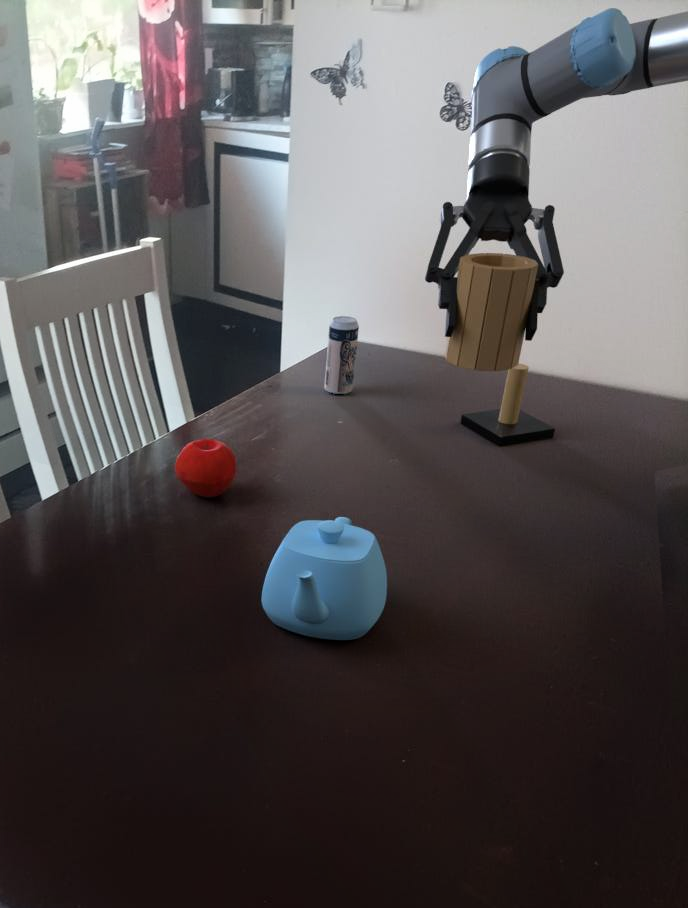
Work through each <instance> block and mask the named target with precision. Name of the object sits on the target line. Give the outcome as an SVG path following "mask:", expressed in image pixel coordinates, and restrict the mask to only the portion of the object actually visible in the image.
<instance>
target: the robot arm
mask: <svg viewBox="0 0 688 908" xmlns="http://www.w3.org/2000/svg"><path fill="white" fill-rule="evenodd" d="M683 82H684V83H685V82H688V10H687V11H682V12H678V13H674V14H669V15H666V16H665V15H664V16H660V17H657V18H651V19H645V20H641V21H636V22H632V23H630V21H629V20H628V18H627V16H626V15H625V14H623V12H622V11H621V10H620V9H618V8H616V7H611V8H607V9H605V10H603V11H600V12H599V13H597V14H595V15H593V16H591V17H590V16H589V17H587V18H584V19H582V20H581V22H580V23H579V24H577V25H575V26H574V27H571V28H570V29H569V30H567V31H565V32H563V33H561V34H560V35H558V36H556V37H555V38H553V39H551V40H550V41H548V42H546V43H544V44H543V45H541V46H539V47H538V48H536V49H534V50H533V51H531V52H529V51H527V49H525V48H522V47H520V46H513V45H511V46H508V47H506V48H500V47H499V48H496V49H494V50H492V51H491V52H489V53H487V54H486V55H485V57H483V58H482V59H481V61H480V63H478V66H477V67H476V70H475V74H474V80H473V88H472V91H471V96H470V104H471V121H470V123H471V124H470V125H471V127H470V141H469V155H468V167H467V170H468V173H467V184H466V199H465V200H466V201H465V202H463V205H453V203H452V202H450V201H445V202H444V203H443V204H442V208H441V212H440V216H439V217H440V218H439V224H440V227H439V228H440V229H439V231H438V232H439V233H437V234H438V235H437V238H436V240H435V244H434V247H433V250H432V253H431V255H430V259H429V262H428V266H427V269H426V273H425V277H424V280H425V282H426V283H429V284H431V283H435V284H437V286H438V287H437V288H438V300H437V303H438V304H437V306H438V308H439V310H446V314H445V315H446V316H445V329H444V330H445V331H444V332H445V333H444V337H445V338H448V337H451V336H452V333H453V330H454V327H455V316H456V299H457V279H458V277H457V276H456V275H457V274H458V268H459V262H460V257H463V256H465V255H468V254H471V251H472V249H474V248H475V247H476V245H477V243H478V241H479V240H480V242H490V241H497V242H501V243H503V242H505V243H506V242H507V245H508V246H509V248H510V250H513V252H514V255H517V256H521V257H522V256H524V257H527V258H530V259H533V260H535V261H536V262H537V263H538V269H537V274H536V279H535V284H534V289H533V294H532V298H531V303H530V308H529V313H528V318H527V323H526V328H525V333H524V341H529V342H530V341H533V338H534V336H535V334H536V332H537V330H538V317H539V315H538V314H542V313H543V311H544V309H545V308H546V305H547V301H548V288H552V289H554V288H557V287H558V286H559V284H560V282H561V280H562V278H563V276H564V274H565V271H564V266H563V261H562V257H561V252H560V248H559V244H558V239H557V236H556V230H555V227H554V222H553V221H554V216H555V210H556V209H555V206H553V205H551V204H548V205H546V206H545V208H536V207H533V206H532V205H533V204H531V202H530V199H529V195H530V194H529V193H530V173H531V172H530V171H531V169H530V165H531V149H532V148H531V145H532V144H531V143H532V129H533V124H534V123H535V122H537V121H538V120H541V119H542V118H546V117H547V116H549V115H552V113H554V112H556V111H559V110H560V109H563V108H566V107H567V106H569V105H571V104H573V103H574V102H577V101H580V100H582V99H586V98H588V99H589V98H595V97H603V96H620V95H626V94H629V93H631V92H634V91H635V92H636V91H641V90H645V89H646V90H647V89H651V88H655V87H661V86H667V85H672V84H678V83H683ZM461 218H462V220H463V221H464V222H465V224H466V225H467V227H468V231H467V232H466V234H465V235H464V237H463V239H462V240H461V242H460V243H459V245H458V246H457V248H456V249H455V251H454V252H453V253H452V256H451V257H450V259H449V260H448V262H447V263H446V264H445V266H444V267H443V268H441V267H440V264H441V262H442V259H443V255H444V252H445V249H446V246H447V243H448V240H449V237H450V233H451V230H452V227H454V226H455V225H457V224H458V220H459V219H461ZM529 220H530V221H532V224H533V227H534V230H536V231H537V240H538V244H539V248H540V252H541V253H540V254H541V257H542V259H541V258H540V256H539V254H538V252H537V250H536V248H535V247H534V244H533V243H532V241H531V239H530V237H529V235H528V233H527V232H528V231H527V227H526V223H527V222H528V221H529Z"/></svg>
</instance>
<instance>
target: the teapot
mask: <svg viewBox="0 0 688 908" xmlns="http://www.w3.org/2000/svg"><path fill="white" fill-rule="evenodd" d="M384 559H385V558H384V556H383V553H382V550H381V547H380V544H379V542H378V539H377V536H375V534H374V533H372V532H371V531H369V530H367V529H365V528H362V527H359V526H356V525H353V522H352V520H351V519H350V518H348V517H345V516H338V517H336V518H335V520H330V519H327V520H319V519H318V520H317V519H315V520H314V519H308V520H302V521H299V522H297V523H295V524H294V525H293V526H292V527H291V528H290V530H289V531H288V532H287V533H286V534H285V536H284V538H283V539H282V541H281V543H280V544H279V546H278V548H277V550H276V552H275V553H274V555H273V557H272V559H271V562H270V564H269V567H268V569H267V572H266V575H265V578H264V582H263V586H262V591H261V599H260V600H261V605H262V606H261V607H262V609H263V610H264V612H265V614H266V615H267V618H269V619H270V621H271V622H272V623H273V624H275V625H276V626H278V627H281V628H282V629H285V630H287V631H290V632H293V633H295V634H299V635H302V636H306V637H310V638H315V639H323V640H330V641H331V640H334V641H351V640H356V639H359V638H362V637H363V636H365V635H366V634H367V633H368V632H369V631H370V630H371V629H372V627H374V625H375V624H376V623H377V622H378V620H379V618H380V617H381V615H382V614H383V611H384V610H385V609H384V608H385V606H386V602H387V593H388V576H387V575H388V573H387V568H386V567H387V566H386V562H385V560H384Z"/></svg>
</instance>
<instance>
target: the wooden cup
mask: <svg viewBox="0 0 688 908" xmlns="http://www.w3.org/2000/svg"><path fill="white" fill-rule="evenodd" d="M537 269H538V263H537V262H536V261H535V260H533V259H530V258H527V257H524V256H522V257H521V256H517V255H516V254H510V253H501V252H499V253H498V252H497V253H495V252H485V253H484V252H479V253H469V254H468V255H465V256H463V257H460V262H459V268H458V271H457V273H456V275H457V276H456V277H458V279H457V299H456V316H455V327H454V330H453V333H452V336H451V337H447V340H446V345H445V346H446V347H445V351H444V352H445V353H444V357H445V361H446V362H448V363H449V364H450V365H453V366H455V367H458V368H461V369H466V370H470V371H471V370H472V371H477V372H479V371H480V372H494V371H495V372H500V371H508V369H512V368H513V367H515V366H517V365H518V364H520V357H521V352H522V347H523V343H524V339H525V330H526V323H527V318H528V313H529V308H530V303H531V298H532V294H533V289H534V284H535V279H536V274H537Z"/></svg>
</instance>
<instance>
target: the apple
mask: <svg viewBox="0 0 688 908" xmlns="http://www.w3.org/2000/svg"><path fill="white" fill-rule="evenodd" d="M236 459H237V458H236V456H235V454H234V452H233V450H232V449H231V448H230V447H229V446H228V445H226V444H225V443H224V442H221V441H219V440H216V439H211V438H203V439H197V440H193V441H191V442H188V443H187V444H186V445H185V446H184V447H183V448H182V450H181V451H180V452H179V454H178V455H177V458H176V461H175V464H174V470H175V474H176V475H177V477H178V479H179V482H180V483H182V484H183V485H184V486H185V487H186V488H187V489H188V490H189V491H190V492H191V493H193V494H194V495H197V496H198V497H203V498H215V497H217V496H220V495H223V494H224V493H225V492H226V491H227V490H228V489H229V487H230V486H231V484H232V483H233V482H234V479H235V476H236V474H237V462H236V461H237V460H236Z"/></svg>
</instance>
